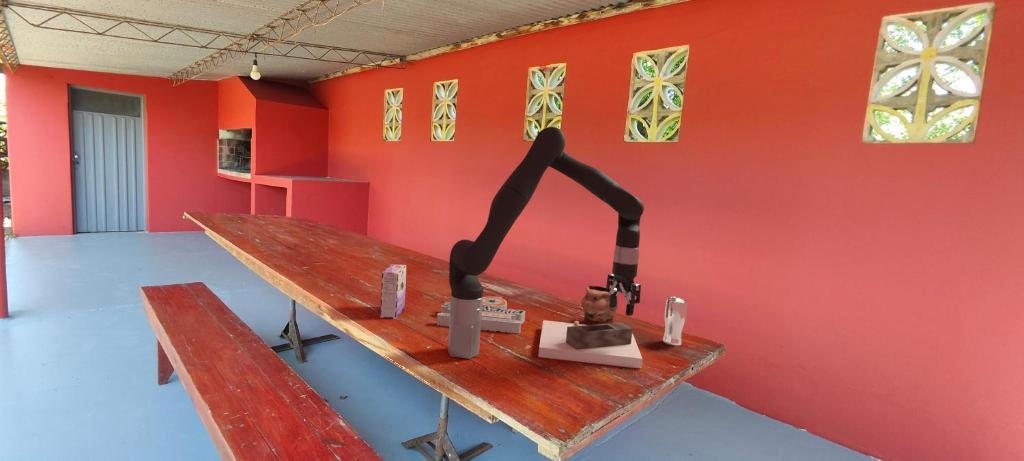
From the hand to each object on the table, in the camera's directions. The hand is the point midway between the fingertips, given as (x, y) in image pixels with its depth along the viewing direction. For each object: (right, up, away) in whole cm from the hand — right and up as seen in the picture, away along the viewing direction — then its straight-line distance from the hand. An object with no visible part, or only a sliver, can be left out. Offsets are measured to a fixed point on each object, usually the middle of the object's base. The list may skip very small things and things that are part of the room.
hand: (620, 311), depth 155 cm
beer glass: (+20, -13, +13) cm, 27 cm away
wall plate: (-10, -12, +3) cm, 16 cm away
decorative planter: (-2, -9, +26) cm, 28 cm away
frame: (-7, -10, -2) cm, 12 cm away
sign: (-44, -7, +26) cm, 52 cm away
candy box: (-77, -4, +23) cm, 80 cm away
